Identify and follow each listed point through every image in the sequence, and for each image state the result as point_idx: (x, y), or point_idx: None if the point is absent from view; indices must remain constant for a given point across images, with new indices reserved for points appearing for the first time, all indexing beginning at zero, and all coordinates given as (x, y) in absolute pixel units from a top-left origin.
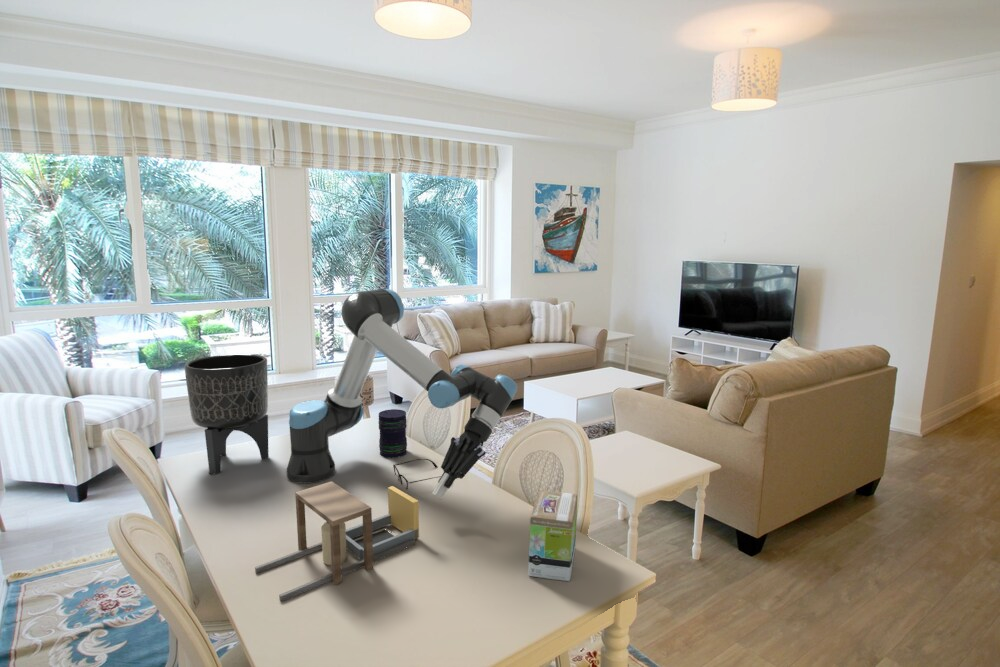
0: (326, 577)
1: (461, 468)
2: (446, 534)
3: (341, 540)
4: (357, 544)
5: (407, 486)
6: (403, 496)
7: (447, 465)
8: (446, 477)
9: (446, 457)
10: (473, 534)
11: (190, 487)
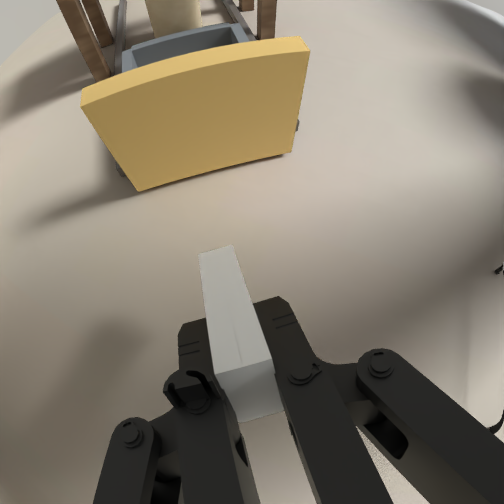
0: (117, 26)
1: (107, 492)
2: (120, 288)
3: (146, 5)
4: (156, 42)
5: (499, 269)
6: (164, 60)
7: (334, 414)
8: (212, 348)
9: (458, 437)
10: (81, 370)
11: (481, 10)
